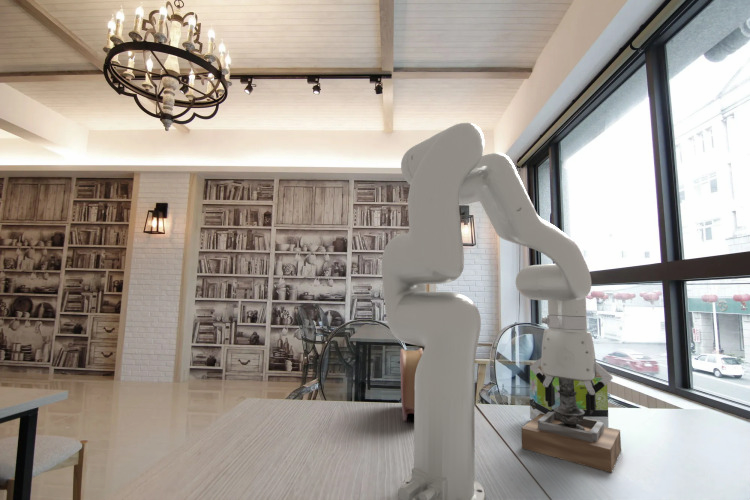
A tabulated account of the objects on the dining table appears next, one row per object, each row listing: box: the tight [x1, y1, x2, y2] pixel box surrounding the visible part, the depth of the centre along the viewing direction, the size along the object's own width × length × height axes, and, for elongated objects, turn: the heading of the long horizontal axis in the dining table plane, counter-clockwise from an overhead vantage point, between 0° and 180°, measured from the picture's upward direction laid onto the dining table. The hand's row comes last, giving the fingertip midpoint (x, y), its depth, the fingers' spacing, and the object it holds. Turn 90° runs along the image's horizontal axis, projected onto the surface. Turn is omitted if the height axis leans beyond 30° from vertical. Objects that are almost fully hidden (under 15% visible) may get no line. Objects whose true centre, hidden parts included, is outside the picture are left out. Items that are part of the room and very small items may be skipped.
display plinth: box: [521, 411, 622, 474], centre depth 78 cm, size 14×16×6 cm
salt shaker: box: [554, 378, 585, 431], centre depth 79 cm, size 6×6×12 cm
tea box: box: [529, 361, 609, 428], centre depth 94 cm, size 15×10×15 cm, turn 97°
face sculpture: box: [399, 347, 424, 423], centre depth 99 cm, size 20×7×17 cm, turn 179°
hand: (570, 408), depth 79 cm, fingers open, 6 cm apart
